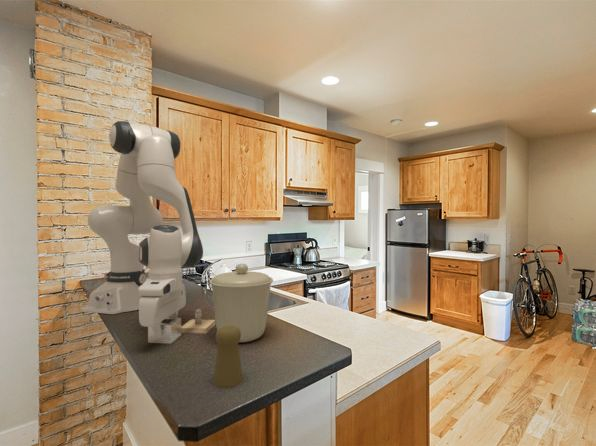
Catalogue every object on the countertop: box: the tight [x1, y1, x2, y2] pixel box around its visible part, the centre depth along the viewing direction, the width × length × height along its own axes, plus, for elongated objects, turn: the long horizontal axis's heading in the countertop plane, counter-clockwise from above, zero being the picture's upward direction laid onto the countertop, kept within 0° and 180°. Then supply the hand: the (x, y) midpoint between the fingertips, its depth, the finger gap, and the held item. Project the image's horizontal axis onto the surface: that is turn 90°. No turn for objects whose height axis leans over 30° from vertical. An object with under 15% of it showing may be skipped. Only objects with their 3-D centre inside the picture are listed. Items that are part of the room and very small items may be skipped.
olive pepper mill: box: [212, 326, 244, 389], centre depth 65 cm, size 6×6×11 cm
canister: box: [208, 263, 274, 344], centre depth 90 cm, size 18×18×21 cm
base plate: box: [181, 308, 216, 334], centre depth 96 cm, size 8×8×6 cm
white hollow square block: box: [147, 317, 182, 344], centre depth 87 cm, size 6×6×5 cm
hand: (165, 331), depth 87 cm, fingers closed on white hollow square block, 6 cm apart
